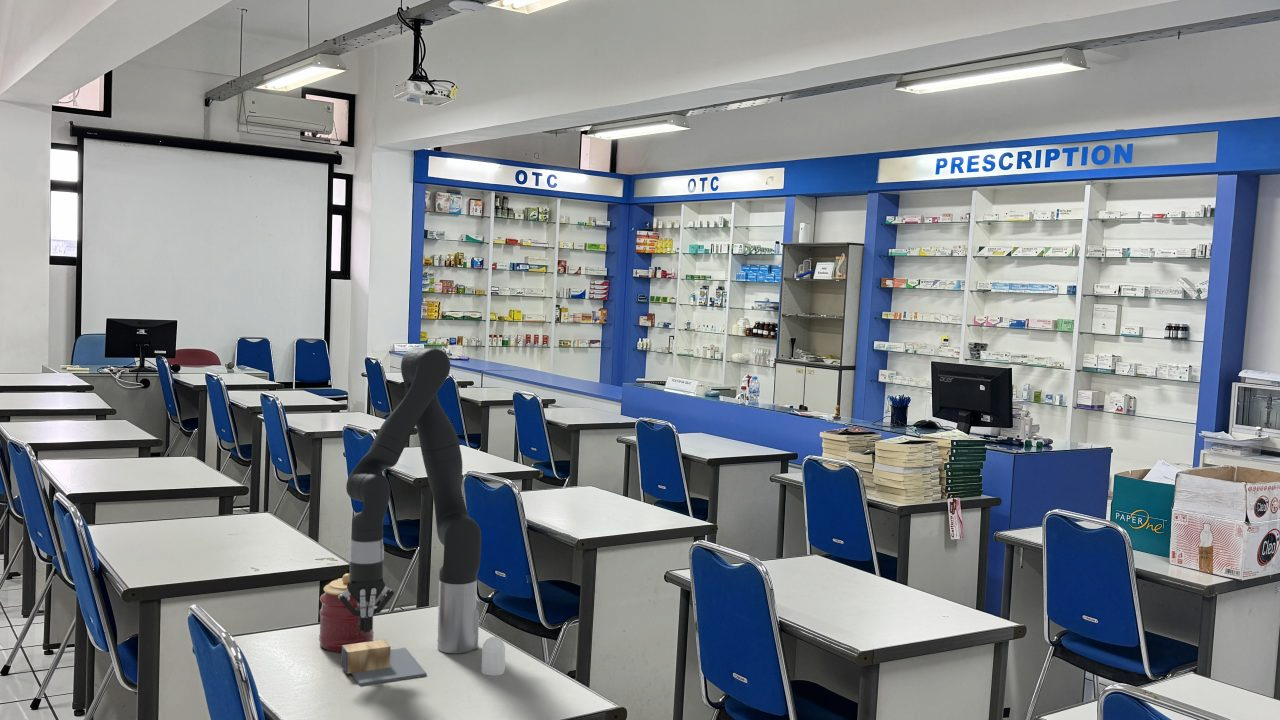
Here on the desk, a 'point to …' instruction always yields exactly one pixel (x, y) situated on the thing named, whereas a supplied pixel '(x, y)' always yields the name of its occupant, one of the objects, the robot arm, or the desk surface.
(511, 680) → the desk surface
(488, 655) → the white domed cylinder
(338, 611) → the canister
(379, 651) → the oak block
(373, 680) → the mat
